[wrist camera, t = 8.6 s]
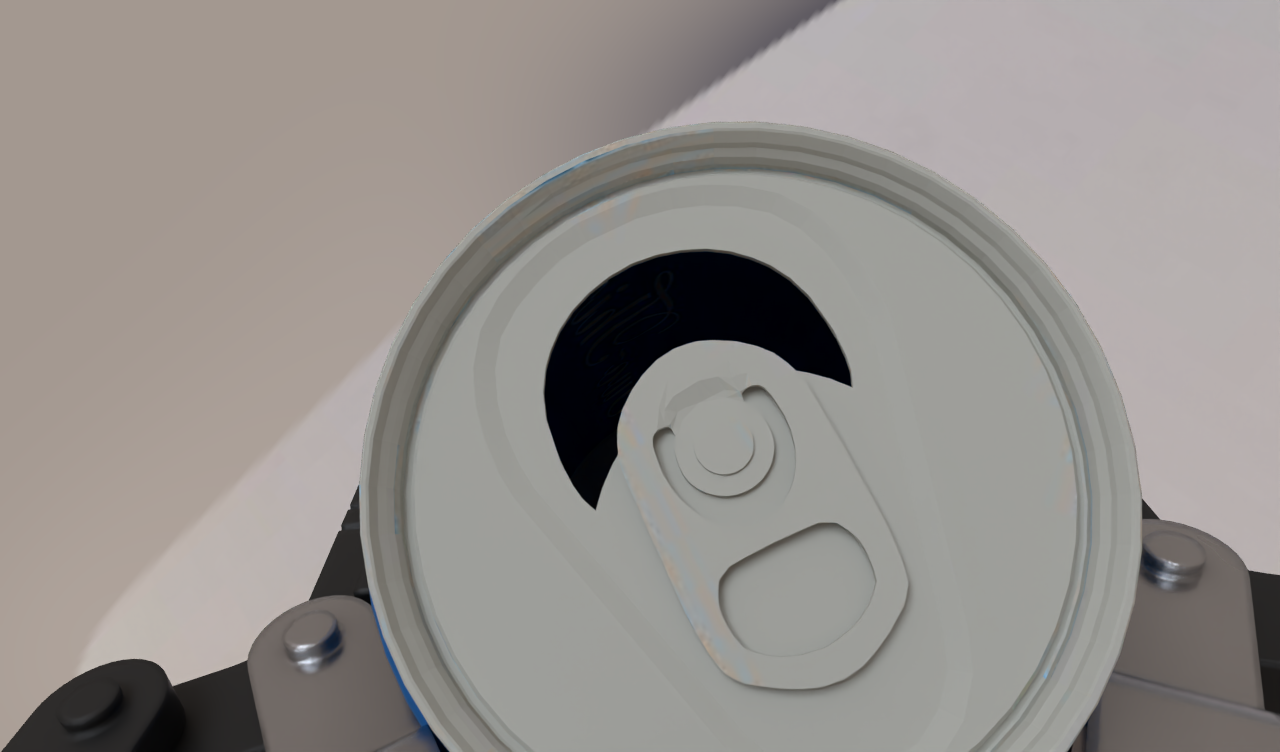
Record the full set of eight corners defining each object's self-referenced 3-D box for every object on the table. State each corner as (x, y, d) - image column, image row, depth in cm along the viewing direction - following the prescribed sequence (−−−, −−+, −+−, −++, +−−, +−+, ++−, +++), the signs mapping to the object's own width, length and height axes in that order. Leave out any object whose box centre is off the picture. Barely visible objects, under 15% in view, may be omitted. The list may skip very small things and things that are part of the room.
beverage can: (775, 361, 19) (909, -44, 7) (928, 643, 17) (1418, 696, 6) (503, 490, 18) (188, 276, 7) (632, 792, 17) (498, 1183, 5)
